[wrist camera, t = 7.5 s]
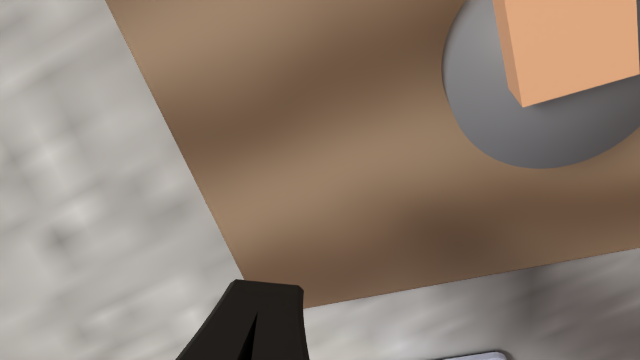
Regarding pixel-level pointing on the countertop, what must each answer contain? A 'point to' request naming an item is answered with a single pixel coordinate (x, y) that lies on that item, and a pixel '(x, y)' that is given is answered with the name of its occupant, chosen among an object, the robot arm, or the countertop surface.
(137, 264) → the countertop surface
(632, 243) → the lock board
